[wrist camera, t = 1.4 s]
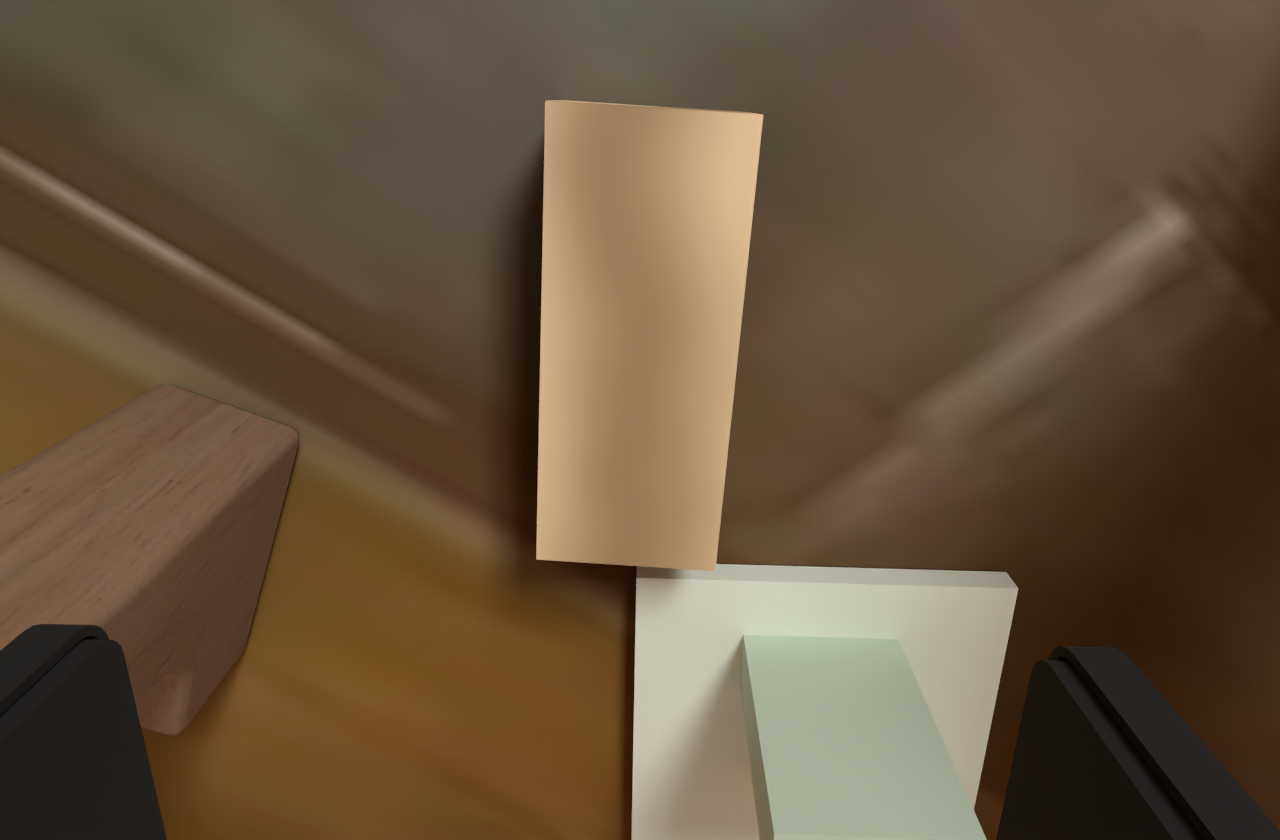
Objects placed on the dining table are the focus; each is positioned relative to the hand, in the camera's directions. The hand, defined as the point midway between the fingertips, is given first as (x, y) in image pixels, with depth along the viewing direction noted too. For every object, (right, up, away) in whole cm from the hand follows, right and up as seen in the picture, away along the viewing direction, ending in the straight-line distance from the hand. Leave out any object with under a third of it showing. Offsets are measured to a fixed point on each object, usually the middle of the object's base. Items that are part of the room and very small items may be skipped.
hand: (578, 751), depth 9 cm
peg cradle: (+6, -12, +23) cm, 26 cm away
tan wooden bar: (+1, +6, +17) cm, 18 cm away
